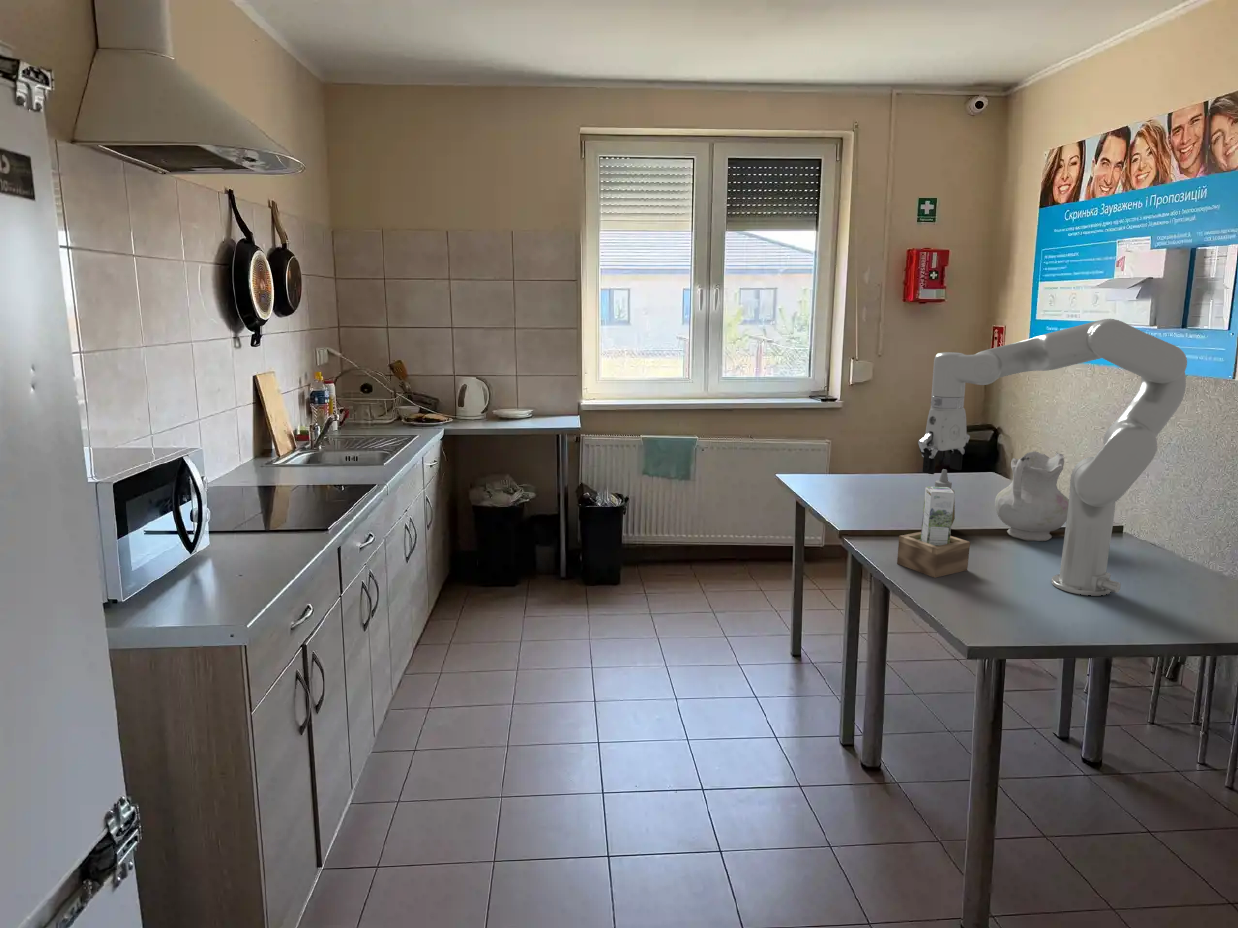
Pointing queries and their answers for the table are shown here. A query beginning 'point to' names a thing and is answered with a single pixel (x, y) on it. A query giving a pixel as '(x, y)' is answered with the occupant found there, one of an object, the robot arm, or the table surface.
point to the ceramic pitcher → (1033, 497)
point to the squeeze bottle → (945, 483)
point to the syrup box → (937, 515)
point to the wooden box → (933, 555)
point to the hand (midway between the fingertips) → (942, 471)
